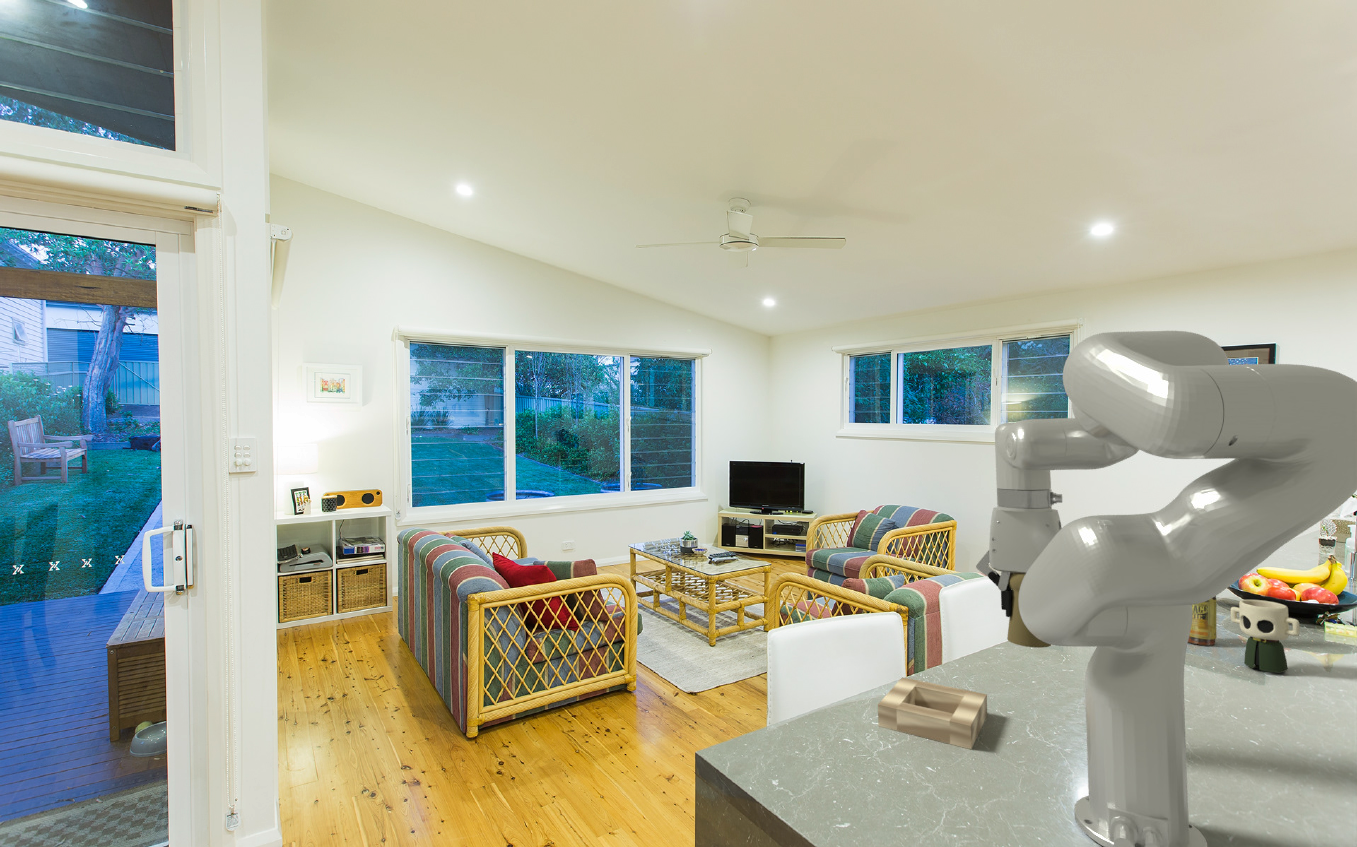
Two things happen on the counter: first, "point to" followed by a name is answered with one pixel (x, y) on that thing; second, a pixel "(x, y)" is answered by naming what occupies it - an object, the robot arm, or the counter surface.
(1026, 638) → the cork
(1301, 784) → the counter surface
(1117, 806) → the robot arm
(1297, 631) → the character mug
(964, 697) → the socket block
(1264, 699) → the counter surface
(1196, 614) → the sauce bottle
